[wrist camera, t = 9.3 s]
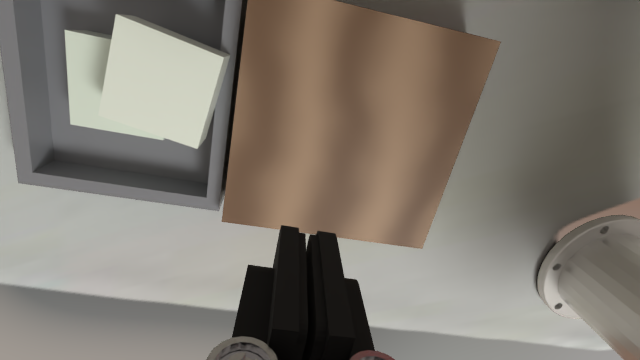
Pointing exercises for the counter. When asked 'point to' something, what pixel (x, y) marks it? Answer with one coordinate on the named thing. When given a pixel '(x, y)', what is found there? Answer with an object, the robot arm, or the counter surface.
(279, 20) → the tan square panel
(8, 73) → the box
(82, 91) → the tile rear
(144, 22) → the tile front
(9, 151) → the counter surface
